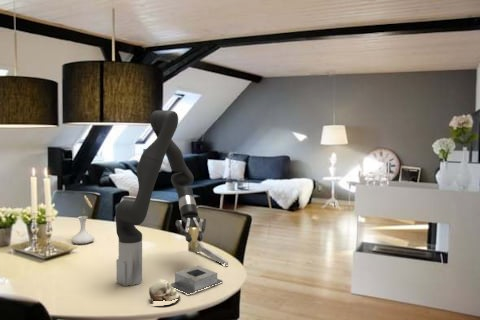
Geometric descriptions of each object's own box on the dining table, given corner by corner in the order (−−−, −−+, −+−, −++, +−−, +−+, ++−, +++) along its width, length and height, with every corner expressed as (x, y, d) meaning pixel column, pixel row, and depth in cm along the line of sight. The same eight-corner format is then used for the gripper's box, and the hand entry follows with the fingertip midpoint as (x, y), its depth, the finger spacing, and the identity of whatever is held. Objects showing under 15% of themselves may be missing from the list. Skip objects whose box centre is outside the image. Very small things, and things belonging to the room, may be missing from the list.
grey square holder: (188, 296, 153) (188, 283, 152) (168, 286, 161) (169, 274, 160) (222, 283, 166) (222, 271, 165) (202, 275, 174) (203, 263, 173)
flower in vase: (89, 245, 211) (89, 198, 209) (67, 245, 211) (67, 197, 209) (98, 238, 224) (98, 194, 222) (78, 238, 224) (77, 193, 222)
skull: (180, 289, 156) (180, 276, 149) (179, 315, 149) (179, 304, 142) (149, 288, 155) (147, 276, 148) (146, 315, 148) (144, 304, 141)
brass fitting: (192, 252, 172) (193, 229, 172) (186, 250, 175) (186, 227, 175) (200, 250, 176) (201, 227, 175) (193, 248, 179) (194, 225, 178)
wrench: (224, 273, 185) (189, 249, 207) (227, 272, 186) (192, 248, 209) (226, 256, 184) (190, 234, 206) (229, 256, 185) (193, 234, 207)
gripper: (174, 203, 178) (180, 237, 168) (205, 202, 184) (212, 235, 173) (171, 213, 184) (176, 246, 173) (201, 211, 189) (208, 244, 179)
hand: (194, 240), depth 173 cm, fingers closed on brass fitting, 4 cm apart
